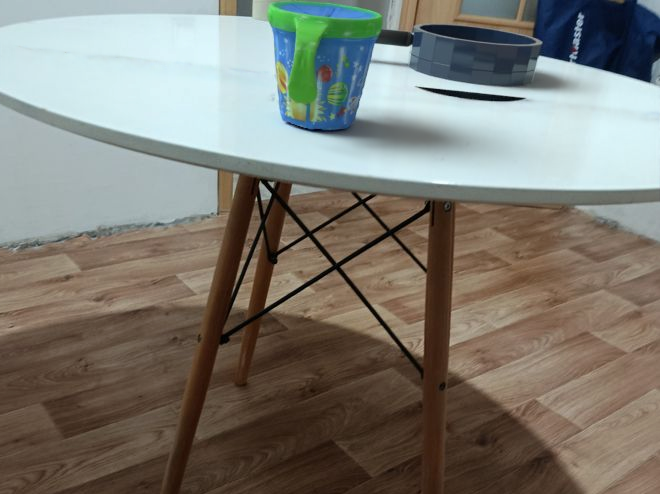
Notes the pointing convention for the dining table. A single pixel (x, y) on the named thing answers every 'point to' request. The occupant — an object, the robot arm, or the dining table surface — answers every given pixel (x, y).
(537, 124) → the dining table surface
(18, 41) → the dining table surface
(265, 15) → the travel mug
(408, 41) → the pan handle
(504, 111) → the dining table surface
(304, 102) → the snack cup
